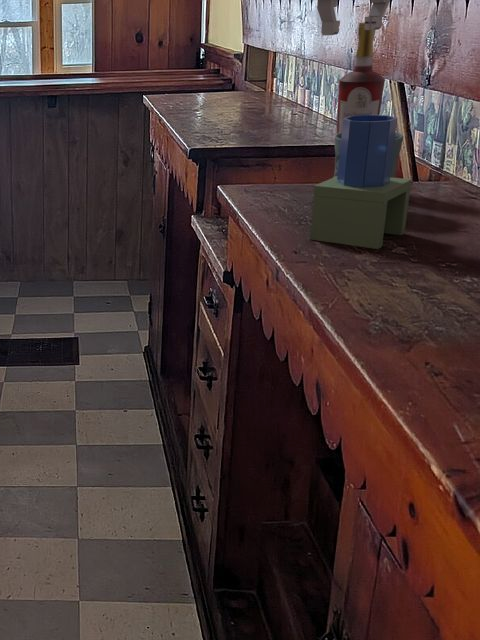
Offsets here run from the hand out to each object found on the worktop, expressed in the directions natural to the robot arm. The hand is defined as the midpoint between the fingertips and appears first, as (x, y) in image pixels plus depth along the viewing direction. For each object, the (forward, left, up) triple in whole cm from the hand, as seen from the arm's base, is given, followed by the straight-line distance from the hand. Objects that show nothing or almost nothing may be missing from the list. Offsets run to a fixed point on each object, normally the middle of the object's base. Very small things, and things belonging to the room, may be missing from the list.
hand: (351, 32), depth 119 cm
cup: (-4, 0, -20) cm, 21 cm away
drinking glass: (+2, -16, -28) cm, 33 cm away
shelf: (-4, 0, -28) cm, 29 cm away
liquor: (+10, -30, -28) cm, 42 cm away
